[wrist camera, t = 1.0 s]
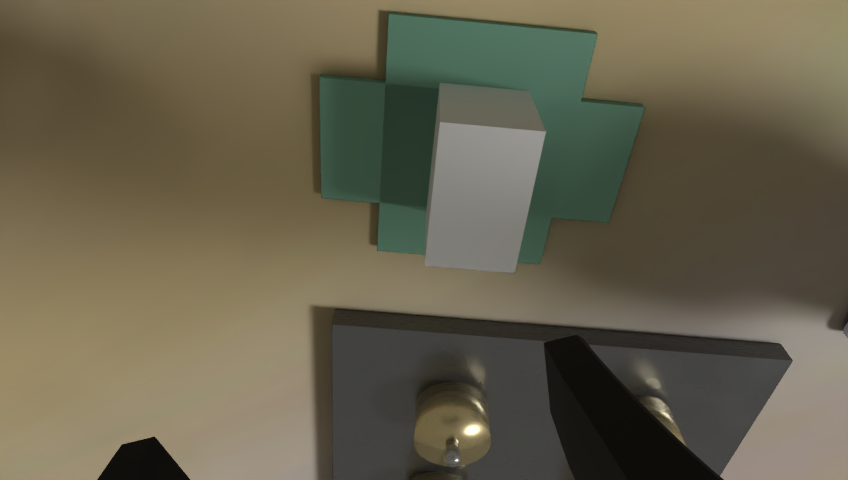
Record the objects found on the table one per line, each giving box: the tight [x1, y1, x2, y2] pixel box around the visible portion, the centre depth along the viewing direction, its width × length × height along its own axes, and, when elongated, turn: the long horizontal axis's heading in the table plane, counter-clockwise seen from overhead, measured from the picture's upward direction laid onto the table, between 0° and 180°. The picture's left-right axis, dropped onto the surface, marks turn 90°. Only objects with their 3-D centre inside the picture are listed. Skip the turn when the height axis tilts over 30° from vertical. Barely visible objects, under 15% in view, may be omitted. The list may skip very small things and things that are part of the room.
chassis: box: [332, 309, 793, 480], centre depth 28 cm, size 20×16×4 cm
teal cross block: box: [319, 12, 645, 273], centre depth 19 cm, size 11×9×4 cm
